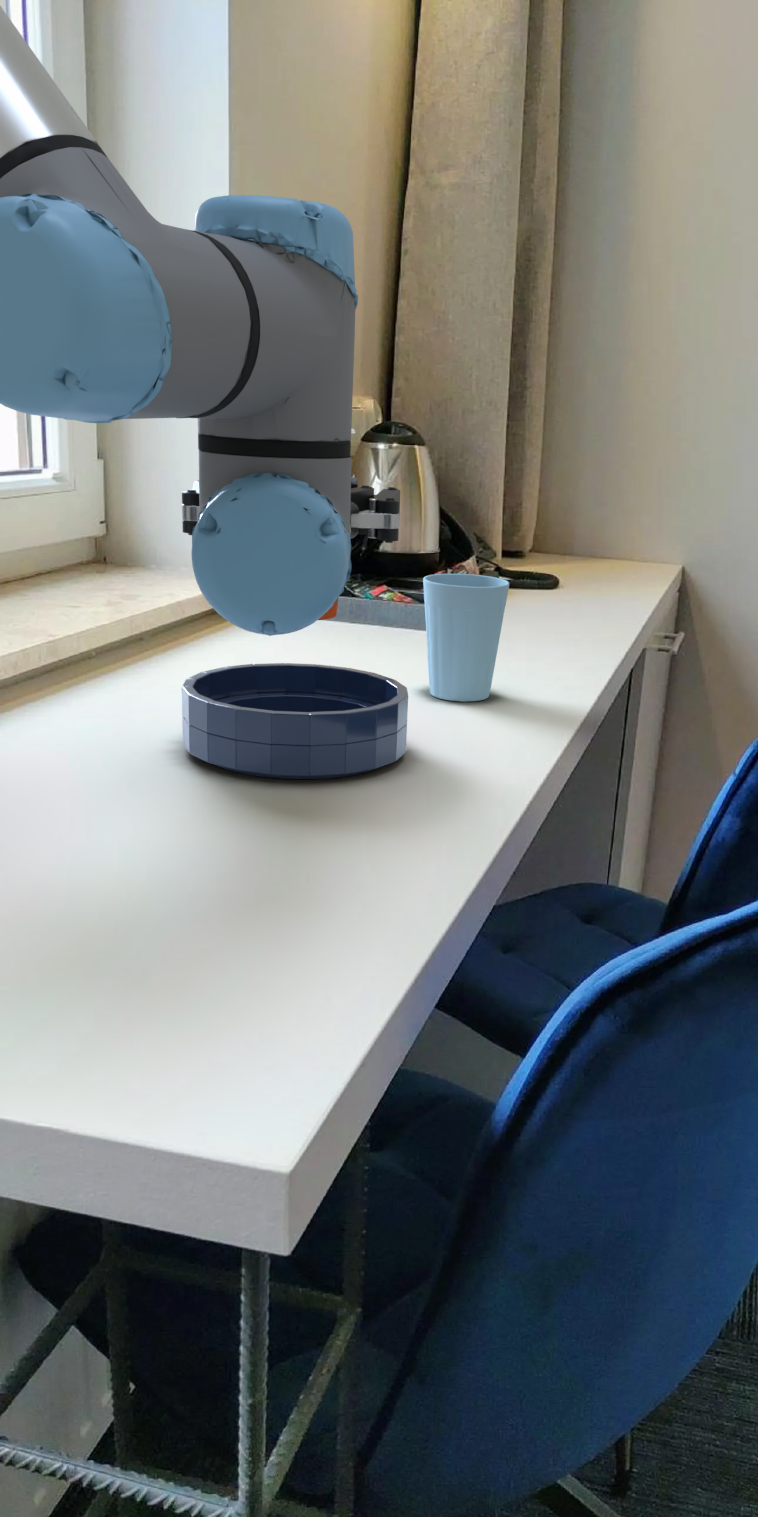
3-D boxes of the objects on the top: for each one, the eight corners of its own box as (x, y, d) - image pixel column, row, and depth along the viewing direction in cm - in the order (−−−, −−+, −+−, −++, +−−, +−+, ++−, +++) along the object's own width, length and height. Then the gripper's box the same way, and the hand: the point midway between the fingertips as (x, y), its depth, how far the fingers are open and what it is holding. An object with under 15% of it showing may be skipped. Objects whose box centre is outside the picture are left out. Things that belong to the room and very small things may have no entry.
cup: (416, 702, 115) (423, 583, 111) (417, 683, 122) (423, 571, 118) (502, 707, 115) (511, 588, 111) (497, 687, 122) (506, 576, 118)
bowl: (170, 779, 90) (168, 709, 88) (197, 720, 105) (197, 659, 103) (408, 787, 91) (411, 718, 89) (401, 727, 106) (404, 667, 104)
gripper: (115, 586, 75) (170, 540, 97) (451, 599, 77) (431, 551, 98) (110, 451, 73) (167, 434, 94) (458, 467, 74) (436, 447, 95)
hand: (302, 494), depth 96 cm, fingers closed on paper cup, 7 cm apart
